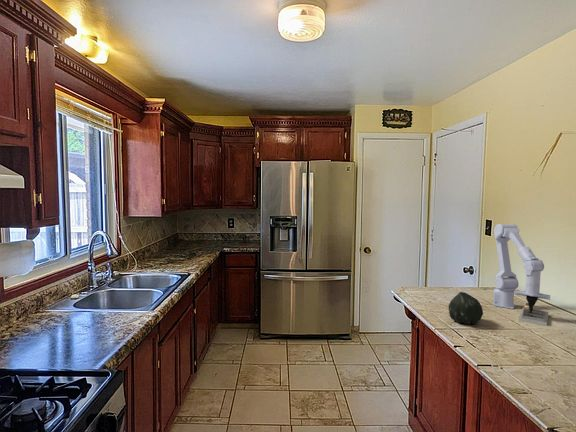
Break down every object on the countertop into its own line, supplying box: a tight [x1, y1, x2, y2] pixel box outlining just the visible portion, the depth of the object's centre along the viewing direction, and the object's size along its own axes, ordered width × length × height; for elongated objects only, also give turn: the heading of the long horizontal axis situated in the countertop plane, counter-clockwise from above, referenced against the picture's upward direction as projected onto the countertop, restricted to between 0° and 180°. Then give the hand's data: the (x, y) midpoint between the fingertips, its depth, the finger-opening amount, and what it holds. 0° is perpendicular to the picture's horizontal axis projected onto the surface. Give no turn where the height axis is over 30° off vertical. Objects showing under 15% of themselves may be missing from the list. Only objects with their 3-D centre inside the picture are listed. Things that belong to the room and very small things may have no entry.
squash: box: [447, 291, 484, 325], centre depth 175 cm, size 14×15×15 cm
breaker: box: [523, 307, 529, 316], centre depth 179 cm, size 2×2×3 cm
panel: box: [518, 307, 549, 327], centre depth 182 cm, size 11×19×2 cm, turn 143°
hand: (531, 311), depth 182 cm, fingers closed
